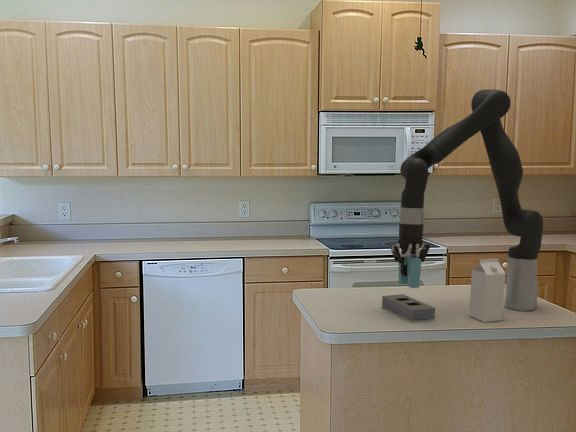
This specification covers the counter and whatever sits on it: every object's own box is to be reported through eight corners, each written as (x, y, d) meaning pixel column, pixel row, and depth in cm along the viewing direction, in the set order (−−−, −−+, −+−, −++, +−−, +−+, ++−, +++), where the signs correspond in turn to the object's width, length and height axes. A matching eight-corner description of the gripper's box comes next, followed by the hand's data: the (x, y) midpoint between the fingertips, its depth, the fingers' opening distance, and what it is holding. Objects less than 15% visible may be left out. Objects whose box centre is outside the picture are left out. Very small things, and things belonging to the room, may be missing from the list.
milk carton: (469, 316, 182) (472, 257, 179) (487, 314, 184) (490, 256, 182) (484, 322, 175) (487, 261, 173) (502, 320, 177) (506, 260, 175)
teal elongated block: (397, 282, 185) (399, 255, 184) (405, 282, 186) (406, 255, 185) (411, 288, 178) (413, 259, 177) (419, 287, 179) (421, 259, 178)
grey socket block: (382, 307, 190) (382, 295, 190) (402, 305, 193) (403, 294, 192) (412, 322, 173) (412, 310, 173) (434, 320, 176) (435, 307, 176)
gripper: (423, 220, 186) (420, 272, 188) (385, 220, 181) (383, 274, 182) (437, 222, 179) (434, 277, 181) (398, 223, 174) (396, 279, 176)
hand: (408, 275), depth 182 cm, fingers closed on teal elongated block, 3 cm apart
